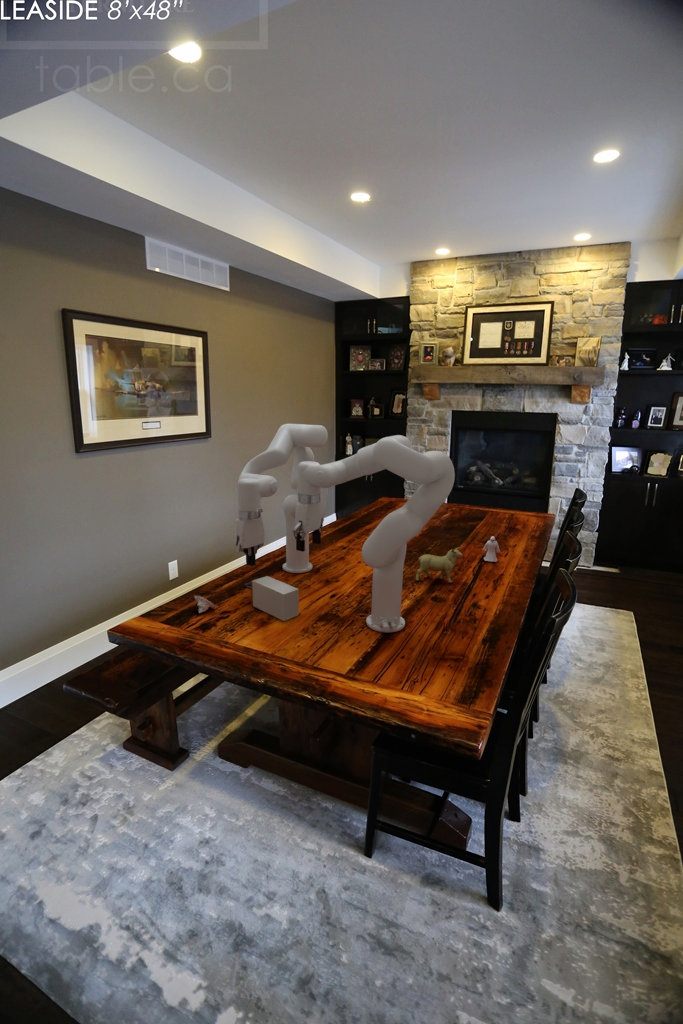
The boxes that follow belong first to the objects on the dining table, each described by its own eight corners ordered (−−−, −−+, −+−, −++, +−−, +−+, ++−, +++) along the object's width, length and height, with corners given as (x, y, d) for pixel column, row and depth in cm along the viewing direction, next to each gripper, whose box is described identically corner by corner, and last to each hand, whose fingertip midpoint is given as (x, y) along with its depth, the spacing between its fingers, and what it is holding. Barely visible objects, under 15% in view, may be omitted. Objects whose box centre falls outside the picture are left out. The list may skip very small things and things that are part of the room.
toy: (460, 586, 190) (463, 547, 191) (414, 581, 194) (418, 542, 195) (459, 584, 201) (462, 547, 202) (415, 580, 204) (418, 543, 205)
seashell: (200, 621, 170) (185, 603, 169) (211, 610, 173) (196, 593, 173) (208, 616, 164) (192, 598, 163) (220, 606, 167) (204, 588, 166)
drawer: (241, 596, 179) (240, 577, 177) (253, 592, 183) (252, 573, 181) (279, 615, 165) (279, 594, 163) (291, 610, 169) (291, 589, 167)
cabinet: (252, 606, 174) (252, 580, 172) (267, 600, 179) (267, 575, 176) (284, 621, 163) (283, 594, 161) (298, 615, 168) (298, 588, 166)
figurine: (481, 562, 222) (483, 536, 219) (482, 556, 230) (484, 531, 227) (499, 564, 220) (501, 538, 217) (499, 558, 228) (501, 533, 225)
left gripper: (260, 508, 180) (261, 557, 184) (224, 516, 169) (226, 567, 173) (273, 512, 175) (274, 562, 179) (238, 520, 164) (239, 572, 168)
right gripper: (313, 492, 177) (313, 538, 181) (284, 501, 162) (284, 551, 167) (332, 495, 173) (331, 542, 177) (303, 504, 159) (303, 555, 163)
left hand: (250, 564), depth 176 cm, fingers closed
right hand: (308, 546), depth 172 cm, fingers open, 9 cm apart
